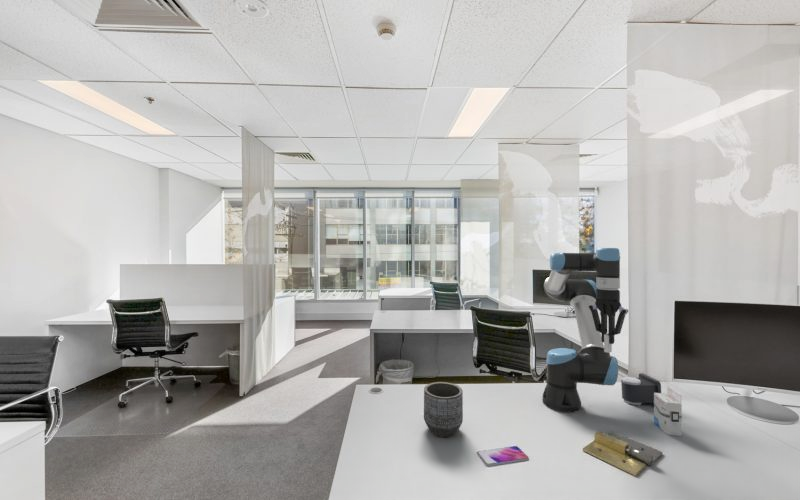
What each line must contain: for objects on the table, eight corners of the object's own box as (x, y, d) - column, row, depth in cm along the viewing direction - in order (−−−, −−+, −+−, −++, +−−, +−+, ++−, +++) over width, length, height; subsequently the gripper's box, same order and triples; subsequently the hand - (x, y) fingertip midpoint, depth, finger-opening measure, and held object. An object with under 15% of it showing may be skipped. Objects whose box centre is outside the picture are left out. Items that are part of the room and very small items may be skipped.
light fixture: (615, 398, 148) (614, 374, 148) (644, 396, 148) (642, 372, 148) (633, 409, 137) (632, 383, 137) (664, 407, 137) (662, 381, 137)
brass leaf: (582, 450, 107) (582, 441, 107) (598, 439, 114) (598, 430, 114) (635, 476, 95) (635, 465, 95) (650, 462, 101) (650, 452, 101)
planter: (466, 424, 123) (466, 385, 123) (456, 445, 110) (457, 401, 110) (431, 416, 129) (431, 379, 129) (418, 435, 116) (418, 393, 116)
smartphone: (475, 451, 106) (516, 445, 110) (475, 454, 106) (516, 448, 110) (486, 464, 99) (529, 458, 103) (486, 467, 99) (530, 460, 103)
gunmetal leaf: (596, 443, 111) (596, 434, 111) (611, 433, 118) (611, 424, 118) (649, 467, 99) (649, 457, 99) (662, 454, 105) (662, 444, 105)
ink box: (653, 422, 125) (653, 384, 125) (667, 424, 124) (667, 385, 124) (666, 434, 117) (666, 393, 117) (682, 436, 116) (682, 394, 116)
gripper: (584, 287, 125) (584, 349, 125) (623, 291, 115) (623, 358, 114) (594, 286, 130) (594, 345, 129) (631, 289, 119) (632, 354, 119)
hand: (607, 351), depth 122 cm, fingers closed
